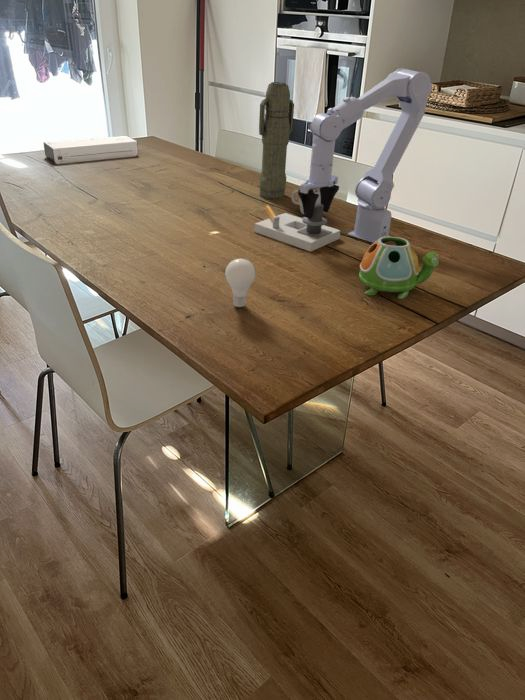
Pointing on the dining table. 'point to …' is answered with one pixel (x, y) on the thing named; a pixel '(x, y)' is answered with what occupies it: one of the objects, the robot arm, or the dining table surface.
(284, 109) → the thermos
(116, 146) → the laminator
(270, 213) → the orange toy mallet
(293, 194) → the cup
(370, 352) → the dining table surface
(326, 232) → the socket board
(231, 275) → the lightbulb
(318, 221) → the plug
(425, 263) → the turtle holder
